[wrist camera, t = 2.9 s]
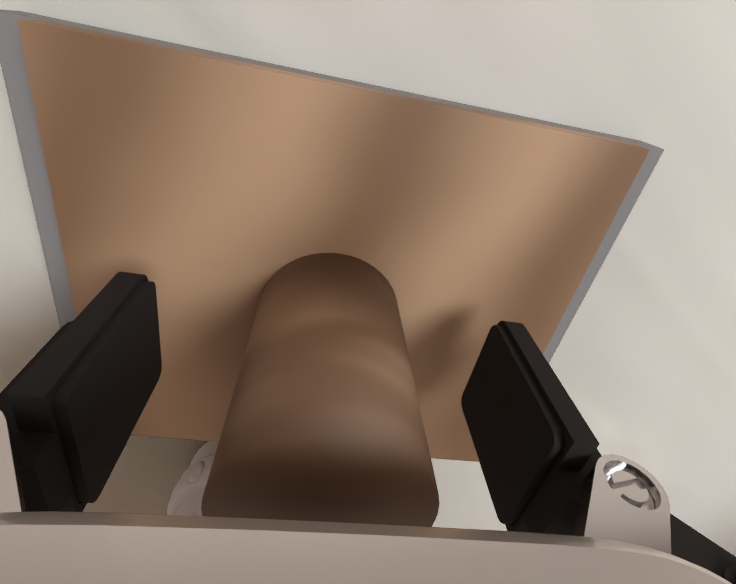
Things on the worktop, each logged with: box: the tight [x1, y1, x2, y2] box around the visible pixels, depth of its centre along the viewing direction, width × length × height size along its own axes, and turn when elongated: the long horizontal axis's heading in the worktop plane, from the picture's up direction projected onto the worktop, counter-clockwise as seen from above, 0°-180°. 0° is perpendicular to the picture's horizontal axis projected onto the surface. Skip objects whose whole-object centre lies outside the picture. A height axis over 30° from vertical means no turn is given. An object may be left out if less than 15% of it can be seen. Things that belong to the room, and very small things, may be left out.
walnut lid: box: [17, 19, 649, 527], centre depth 10 cm, size 14×12×7 cm
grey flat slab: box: [0, 10, 664, 363], centre depth 13 cm, size 16×12×1 cm
